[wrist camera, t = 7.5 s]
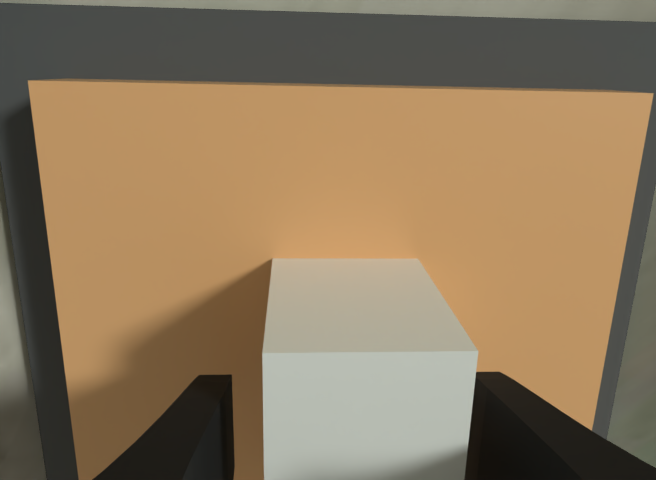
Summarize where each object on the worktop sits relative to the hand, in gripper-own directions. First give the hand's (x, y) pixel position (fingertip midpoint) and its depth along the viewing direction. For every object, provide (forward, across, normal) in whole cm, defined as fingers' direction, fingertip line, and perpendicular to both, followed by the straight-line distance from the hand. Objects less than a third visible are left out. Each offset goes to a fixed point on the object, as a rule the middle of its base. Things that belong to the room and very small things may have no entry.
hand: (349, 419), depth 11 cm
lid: (+2, 0, 0) cm, 3 cm away
